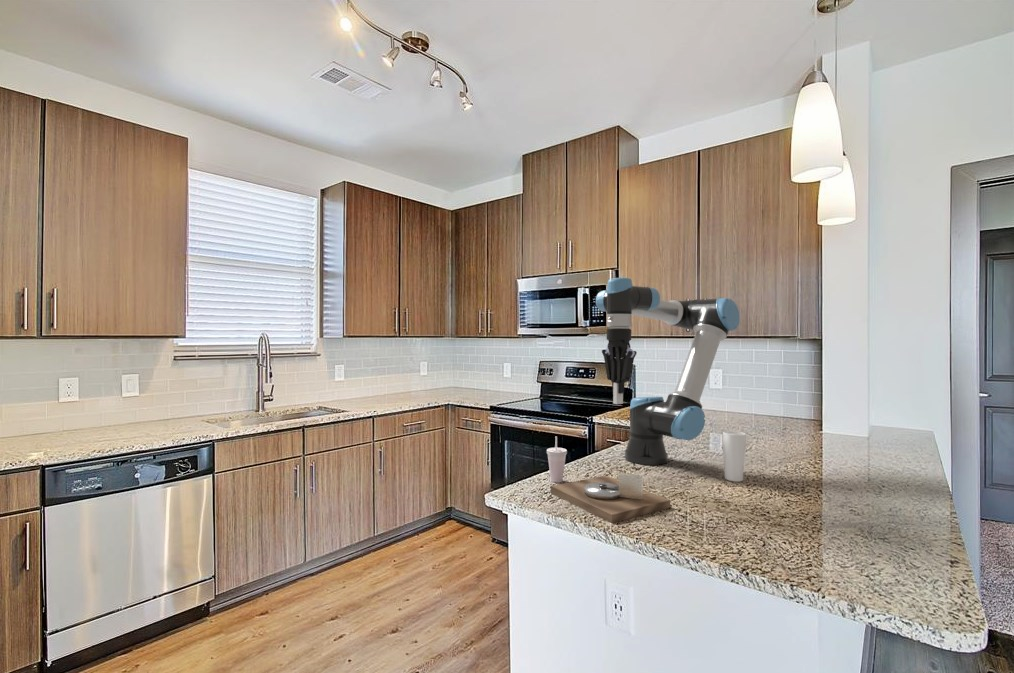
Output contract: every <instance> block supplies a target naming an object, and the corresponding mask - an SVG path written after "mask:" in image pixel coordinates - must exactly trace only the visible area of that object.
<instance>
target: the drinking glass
mask: <svg viewBox="0 0 1014 673" xmlns="http://www.w3.org/2000/svg"><path fill="white" fill-rule="evenodd" d="M746 452H747V434H746V433H745V432H742V431H737V430H724V431H722V454H723V466H724V467H723V469H724V479H725V480H726V481H730V482H733V483H734V482H736V483H741V482H742V481H744V471H745V462H746V461H745V459H746Z"/></svg>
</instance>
